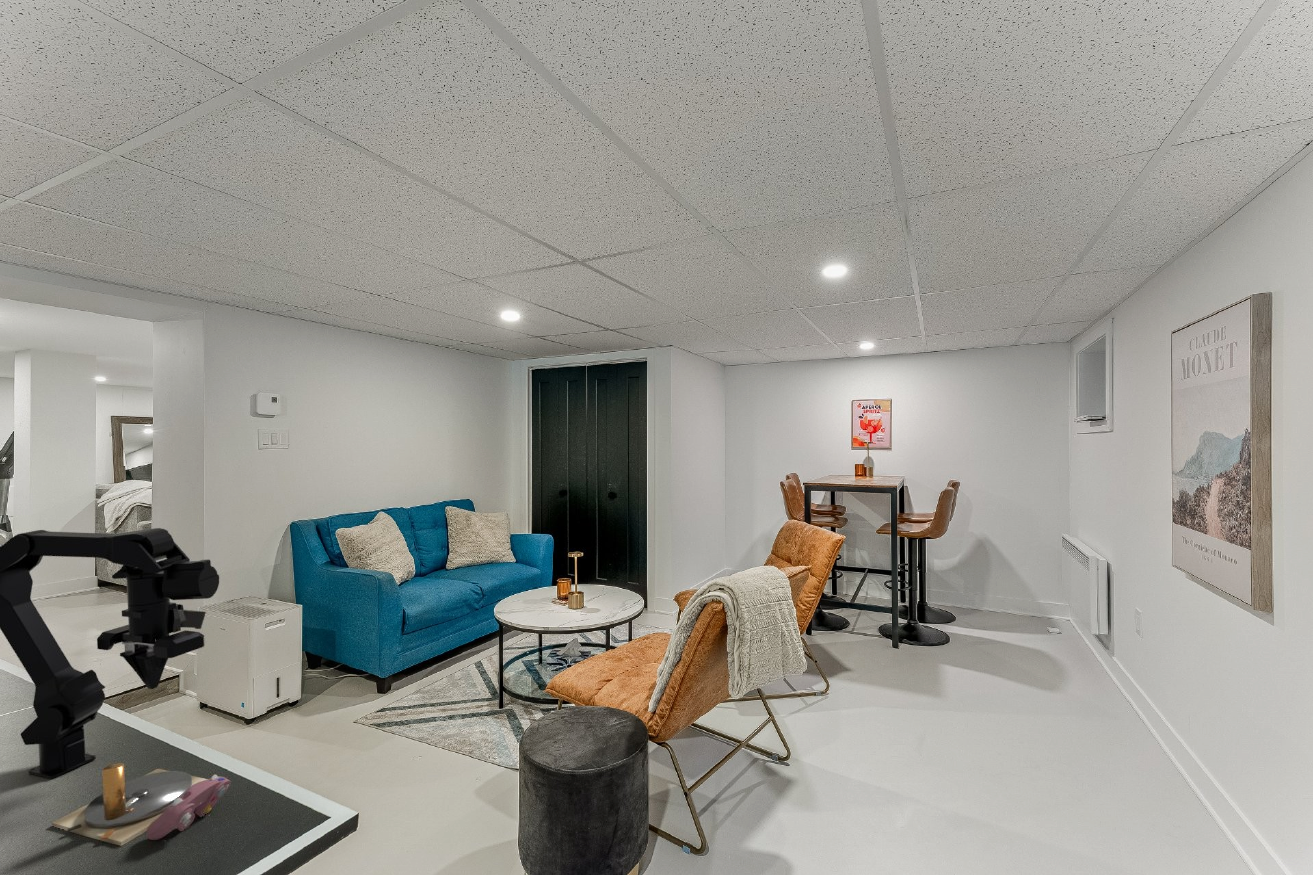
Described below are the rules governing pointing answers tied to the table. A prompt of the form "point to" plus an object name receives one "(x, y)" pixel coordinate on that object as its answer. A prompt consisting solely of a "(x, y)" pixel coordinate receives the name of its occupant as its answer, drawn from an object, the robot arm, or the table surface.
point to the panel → (112, 835)
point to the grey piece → (134, 796)
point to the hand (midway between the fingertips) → (153, 688)
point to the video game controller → (189, 806)
